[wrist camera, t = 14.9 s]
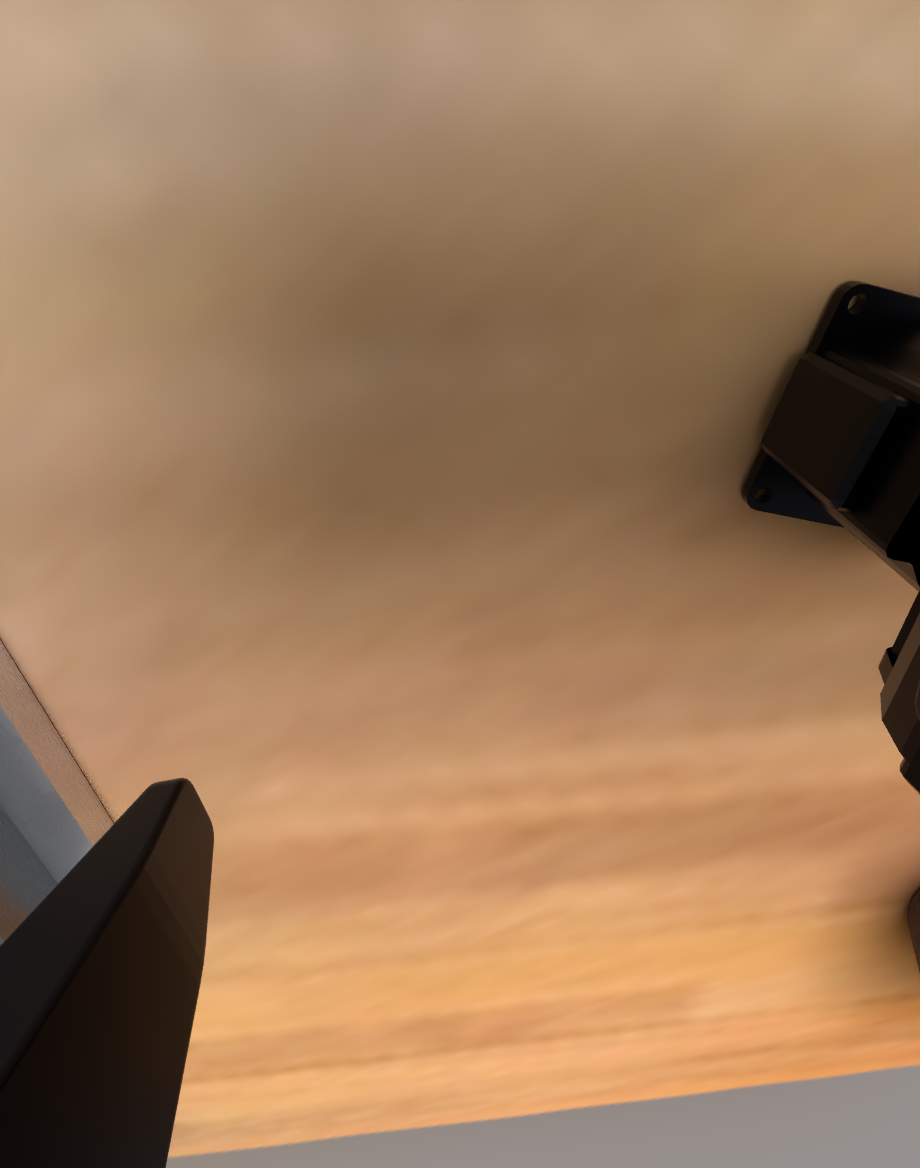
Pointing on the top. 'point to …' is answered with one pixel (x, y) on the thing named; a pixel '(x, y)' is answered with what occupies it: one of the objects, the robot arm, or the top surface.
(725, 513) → the top surface
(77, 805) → the rail plate
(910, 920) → the plant pot
